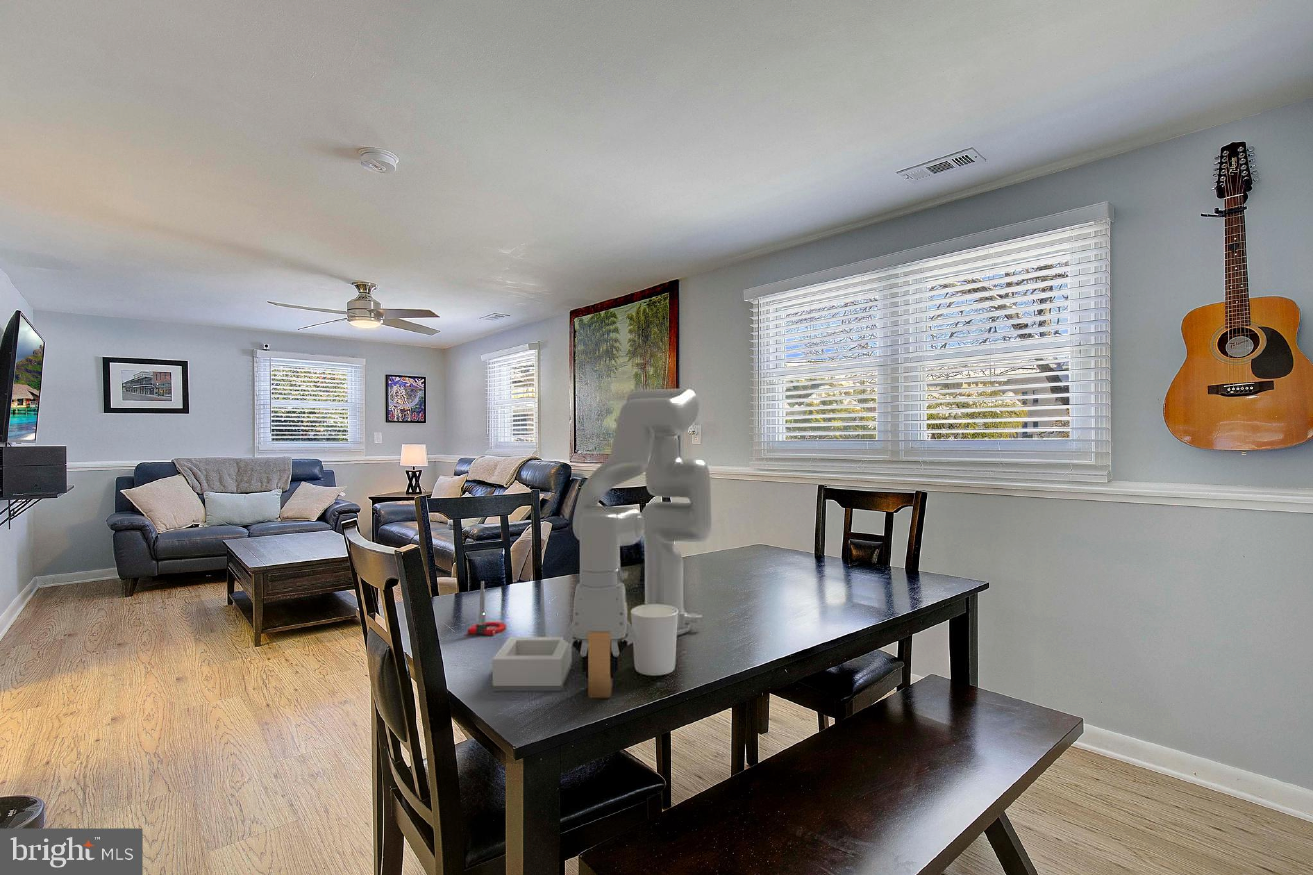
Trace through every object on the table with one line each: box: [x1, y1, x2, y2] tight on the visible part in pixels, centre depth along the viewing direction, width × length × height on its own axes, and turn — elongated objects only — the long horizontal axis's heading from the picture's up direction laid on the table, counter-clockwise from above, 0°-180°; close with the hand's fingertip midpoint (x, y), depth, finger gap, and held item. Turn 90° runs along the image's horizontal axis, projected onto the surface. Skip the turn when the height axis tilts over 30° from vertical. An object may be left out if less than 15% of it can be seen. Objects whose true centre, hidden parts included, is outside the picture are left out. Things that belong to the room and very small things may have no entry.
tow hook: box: [467, 581, 507, 637], centre depth 155 cm, size 8×13×9 cm
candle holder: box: [630, 604, 678, 676], centre depth 129 cm, size 10×10×12 cm
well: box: [492, 636, 572, 692], centre depth 124 cm, size 13×13×6 cm
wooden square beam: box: [587, 632, 613, 699], centre depth 117 cm, size 4×5×12 cm
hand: (600, 674), depth 117 cm, fingers closed on wooden square beam, 4 cm apart
